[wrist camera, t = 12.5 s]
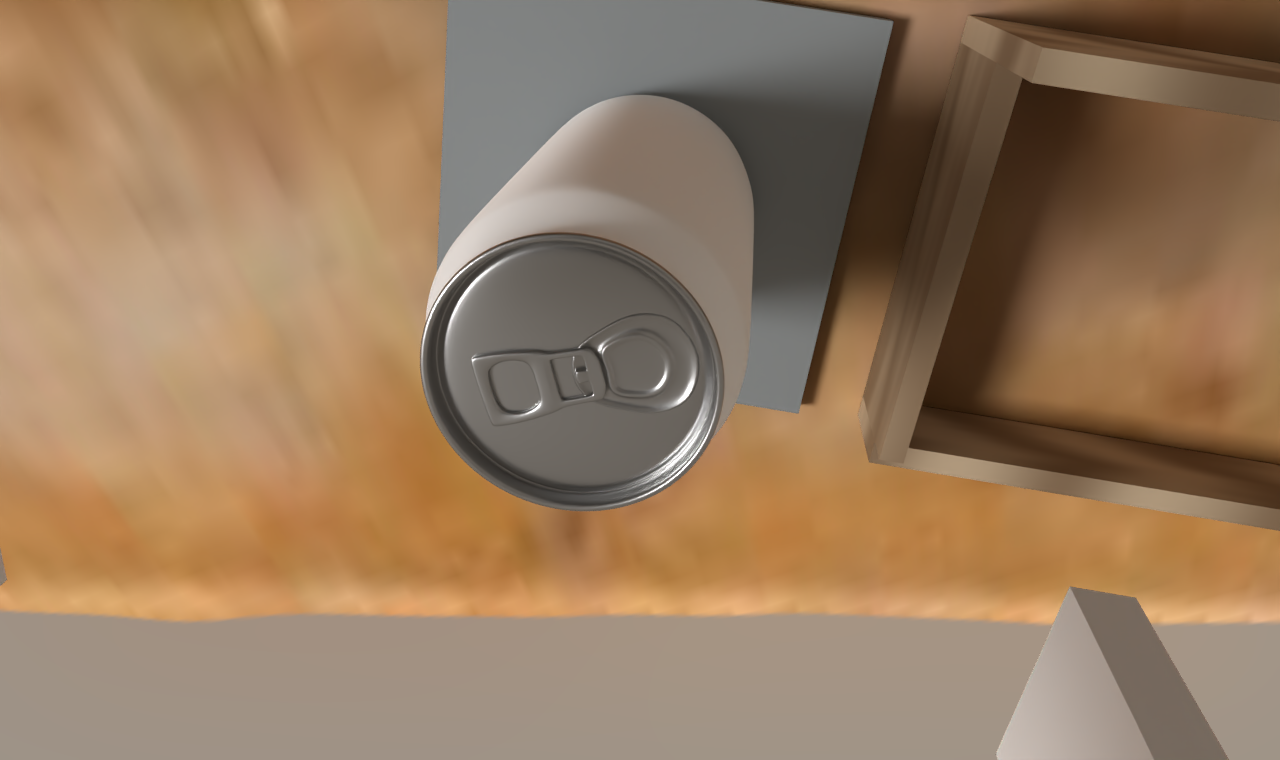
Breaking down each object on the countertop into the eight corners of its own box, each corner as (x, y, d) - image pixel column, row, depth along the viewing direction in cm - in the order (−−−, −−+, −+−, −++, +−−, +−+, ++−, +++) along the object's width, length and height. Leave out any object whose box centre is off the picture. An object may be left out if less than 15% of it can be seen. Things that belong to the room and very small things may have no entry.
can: (771, 286, 28) (777, 507, 18) (567, 322, 30) (458, 549, 19) (731, 67, 26) (709, 173, 15) (509, 117, 27) (345, 246, 16)
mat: (438, 345, 31) (433, 352, 31) (455, -49, 26) (450, -48, 25) (797, 404, 31) (798, 413, 30) (890, 19, 26) (893, 21, 25)
